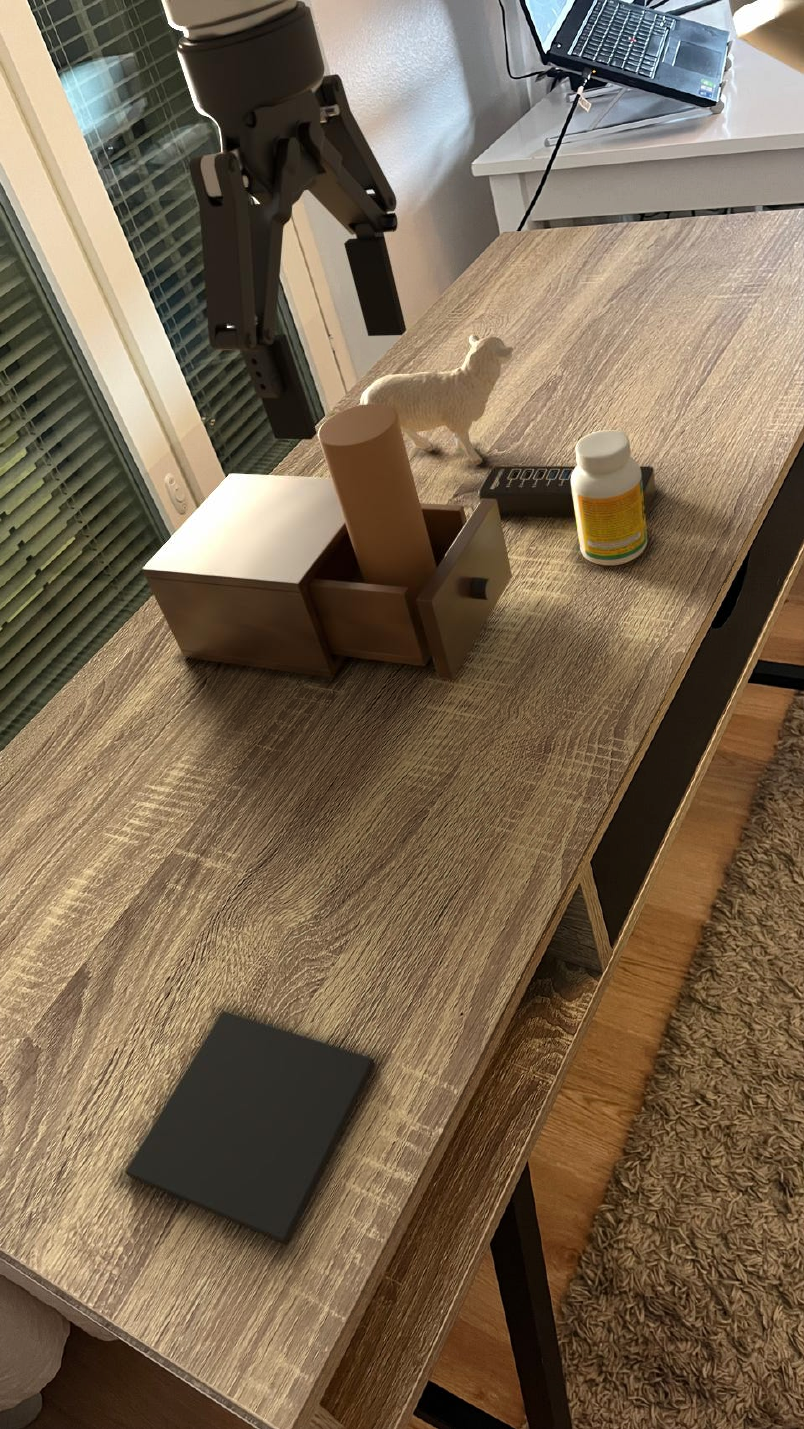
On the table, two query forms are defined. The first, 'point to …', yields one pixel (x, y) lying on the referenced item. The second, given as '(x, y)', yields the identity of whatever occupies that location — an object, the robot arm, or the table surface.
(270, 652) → the cabinet
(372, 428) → the brown cylinder
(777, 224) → the table surface
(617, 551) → the supplement bottle
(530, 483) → the multiport hub
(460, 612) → the drawer
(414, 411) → the figurine
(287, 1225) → the mat
